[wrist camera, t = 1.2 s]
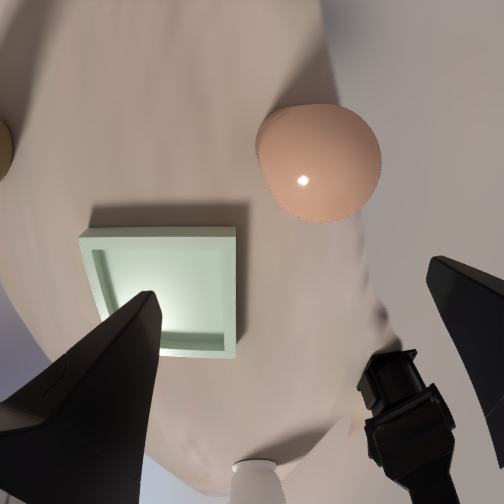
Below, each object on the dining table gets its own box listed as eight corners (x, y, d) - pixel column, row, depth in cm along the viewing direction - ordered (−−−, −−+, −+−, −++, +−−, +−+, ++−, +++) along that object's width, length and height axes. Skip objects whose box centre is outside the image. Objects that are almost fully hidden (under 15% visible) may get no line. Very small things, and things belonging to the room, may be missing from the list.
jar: (246, 453, 40) (250, 529, 27) (292, 460, 43) (301, 527, 30) (217, 467, 44) (216, 532, 31) (260, 474, 47) (264, 534, 34)
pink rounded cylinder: (339, 110, 17) (387, 113, 11) (332, 187, 20) (371, 224, 14) (256, 103, 17) (266, 98, 11) (254, 183, 19) (261, 221, 13)
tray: (236, 226, 21) (235, 237, 19) (236, 344, 26) (236, 358, 25) (87, 228, 20) (77, 237, 19) (118, 338, 26) (113, 350, 24)
